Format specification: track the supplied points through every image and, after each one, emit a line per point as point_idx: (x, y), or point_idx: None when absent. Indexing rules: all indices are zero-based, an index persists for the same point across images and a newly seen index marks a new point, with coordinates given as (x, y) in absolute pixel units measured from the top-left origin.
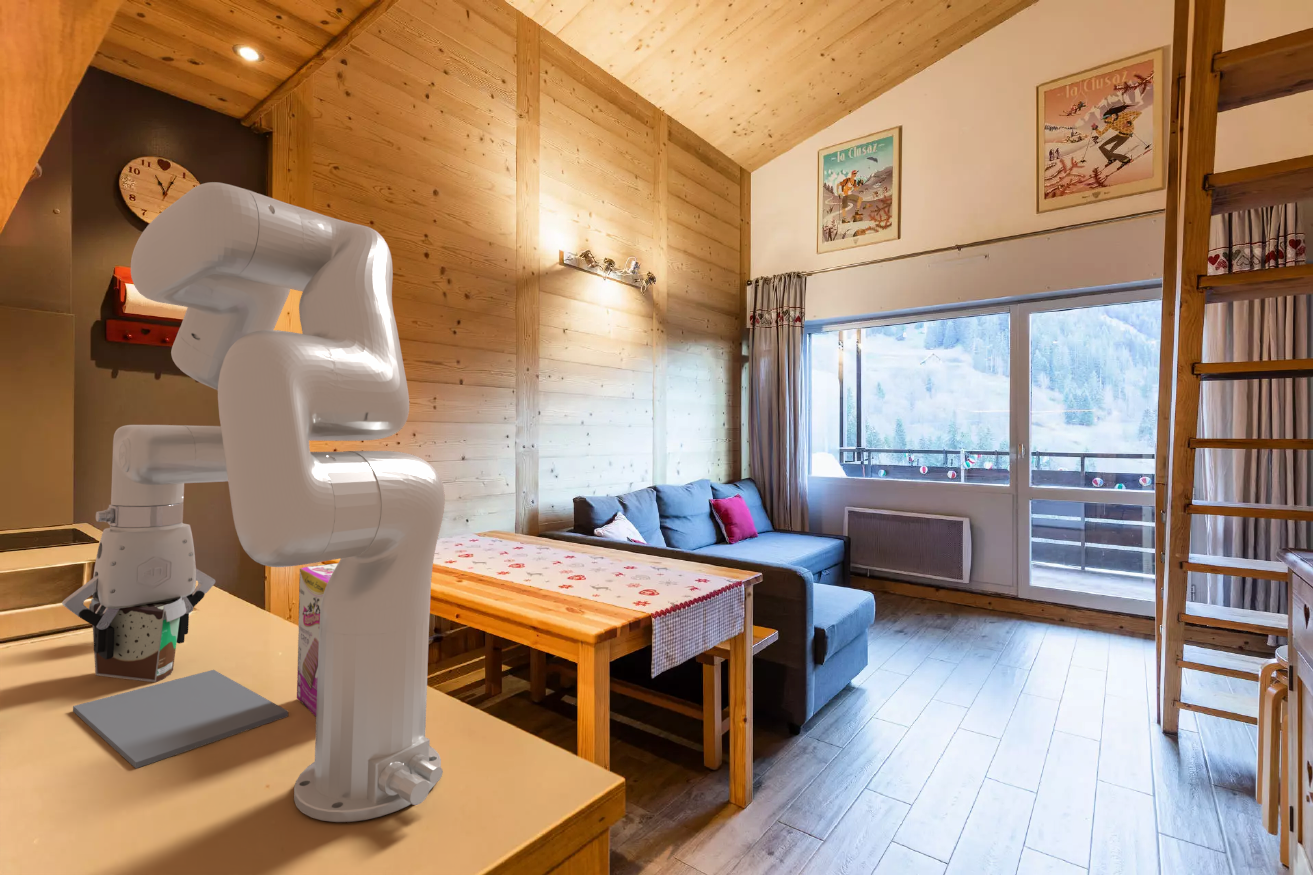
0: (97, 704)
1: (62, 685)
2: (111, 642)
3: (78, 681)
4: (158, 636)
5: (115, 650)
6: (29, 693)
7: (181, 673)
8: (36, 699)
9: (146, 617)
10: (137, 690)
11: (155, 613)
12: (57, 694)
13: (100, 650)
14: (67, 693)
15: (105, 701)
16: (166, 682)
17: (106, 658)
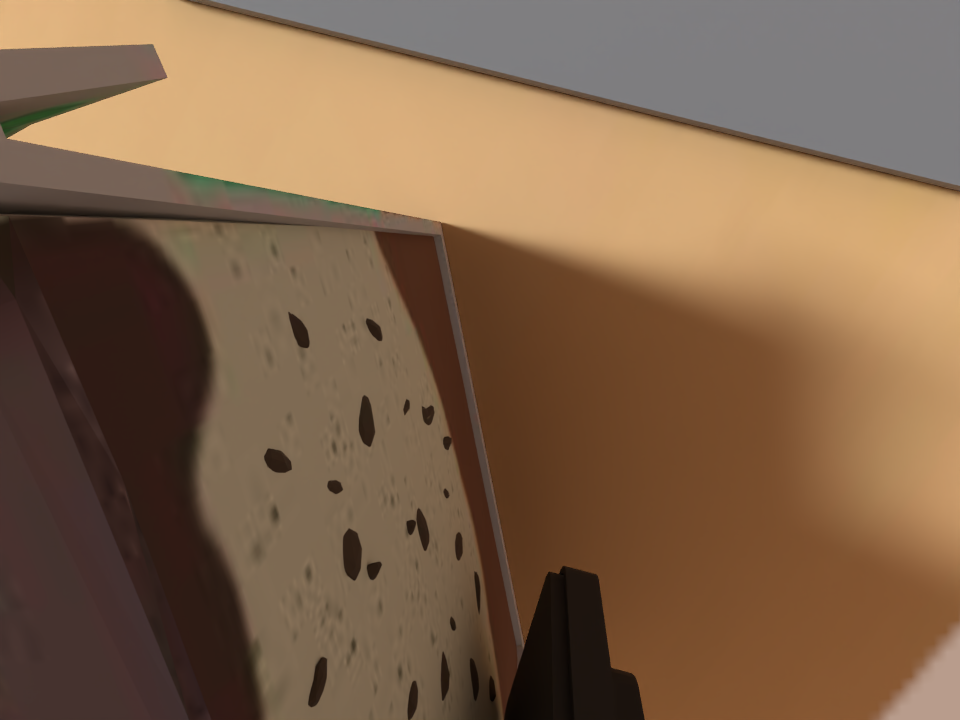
0: (929, 62)
1: (689, 650)
2: (578, 660)
3: (619, 634)
4: (328, 262)
5: (481, 655)
6: (826, 683)
7: None
8: (879, 574)
9: (283, 606)
10: (644, 80)
11: (155, 462)
12: (790, 549)
13: (614, 671)
14: (762, 517)
15: (871, 68)
16: (458, 49)
17: (596, 575)
